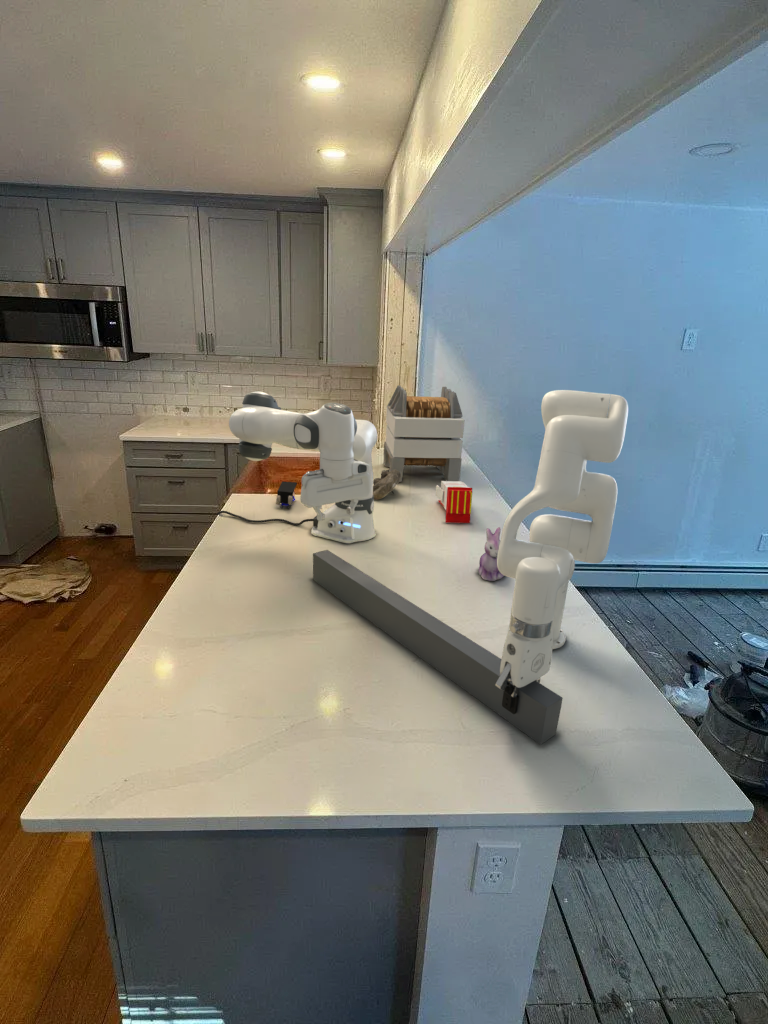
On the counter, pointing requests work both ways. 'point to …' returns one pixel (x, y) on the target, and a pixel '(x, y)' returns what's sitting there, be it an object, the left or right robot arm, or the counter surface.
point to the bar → (438, 645)
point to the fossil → (385, 483)
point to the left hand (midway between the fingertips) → (335, 516)
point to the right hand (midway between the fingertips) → (518, 703)
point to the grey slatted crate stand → (424, 433)
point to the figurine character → (286, 494)
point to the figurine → (490, 557)
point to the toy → (455, 501)
